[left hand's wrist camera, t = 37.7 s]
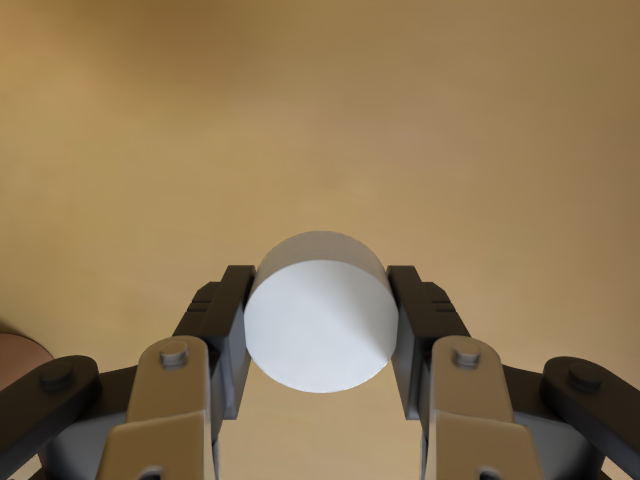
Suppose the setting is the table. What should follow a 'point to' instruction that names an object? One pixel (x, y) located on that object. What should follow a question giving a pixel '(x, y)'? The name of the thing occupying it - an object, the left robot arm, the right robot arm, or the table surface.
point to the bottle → (19, 358)
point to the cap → (321, 313)
